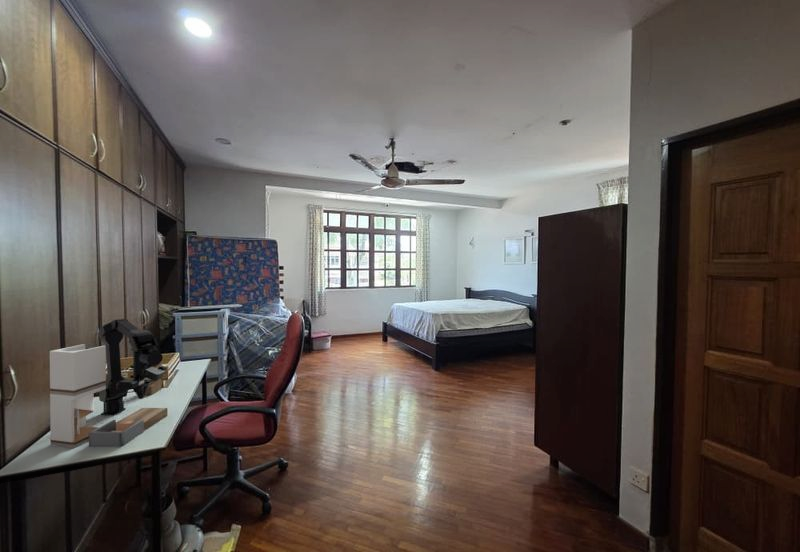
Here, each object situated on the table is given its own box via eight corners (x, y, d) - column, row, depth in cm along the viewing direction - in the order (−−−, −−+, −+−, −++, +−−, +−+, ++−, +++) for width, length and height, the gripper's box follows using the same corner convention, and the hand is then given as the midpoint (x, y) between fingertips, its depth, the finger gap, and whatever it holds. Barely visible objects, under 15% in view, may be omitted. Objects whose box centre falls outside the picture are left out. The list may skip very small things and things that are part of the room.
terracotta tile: (120, 433, 135) (115, 436, 132) (120, 420, 135) (115, 423, 132) (134, 433, 135) (129, 436, 133) (133, 420, 135) (129, 423, 133)
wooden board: (114, 431, 137) (114, 423, 137) (142, 415, 152) (142, 407, 152) (142, 431, 137) (142, 423, 137) (167, 415, 152) (167, 407, 152)
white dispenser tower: (74, 448, 124) (73, 352, 123) (50, 445, 126) (49, 351, 125) (106, 433, 136) (105, 345, 135) (84, 430, 137) (83, 344, 136)
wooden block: (151, 395, 176) (151, 360, 175) (142, 395, 175) (141, 360, 175) (161, 389, 185) (161, 355, 184) (152, 389, 184) (152, 356, 184)
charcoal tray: (88, 446, 126) (88, 433, 125) (113, 432, 137) (113, 419, 136) (121, 446, 126) (121, 433, 126) (143, 432, 137) (143, 419, 137)
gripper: (143, 369, 134) (143, 408, 134) (175, 356, 153) (175, 391, 153) (115, 368, 134) (115, 407, 135) (150, 355, 153) (150, 390, 153)
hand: (141, 398), depth 144 cm, fingers closed
